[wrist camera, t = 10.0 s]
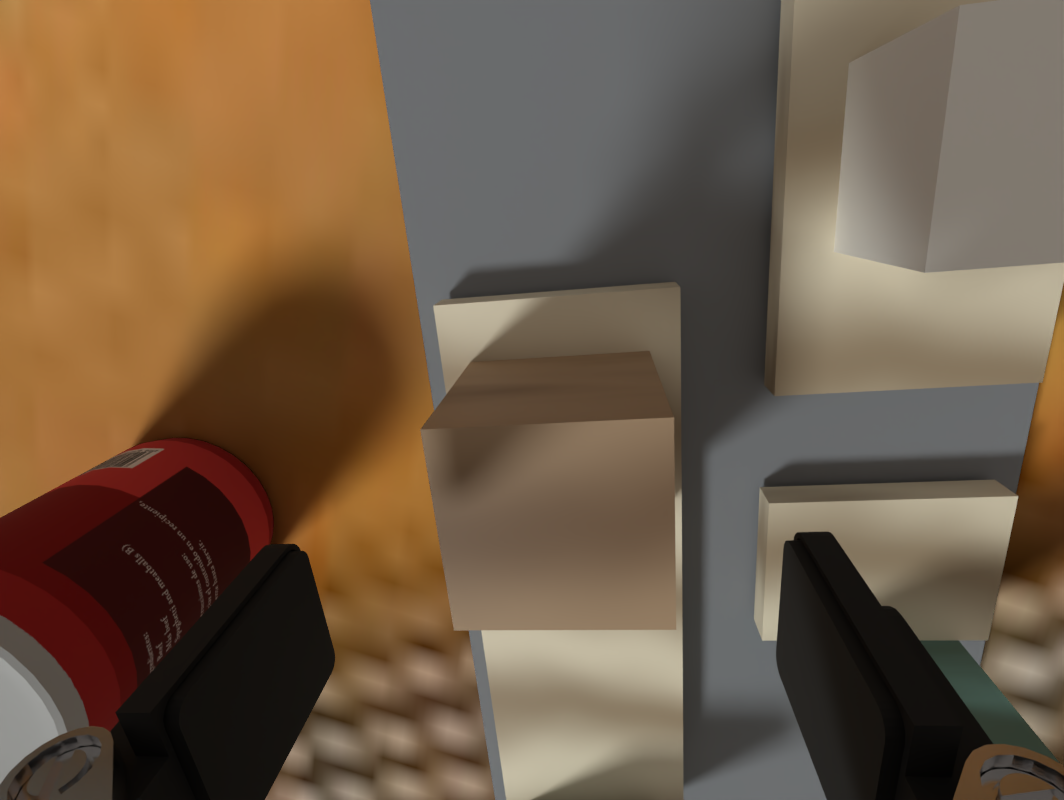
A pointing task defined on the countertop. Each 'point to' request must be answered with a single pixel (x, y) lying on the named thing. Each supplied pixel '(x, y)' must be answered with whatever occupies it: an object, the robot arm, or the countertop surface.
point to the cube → (556, 494)
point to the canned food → (115, 581)
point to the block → (958, 142)
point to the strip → (582, 655)
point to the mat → (656, 257)
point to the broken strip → (888, 365)
